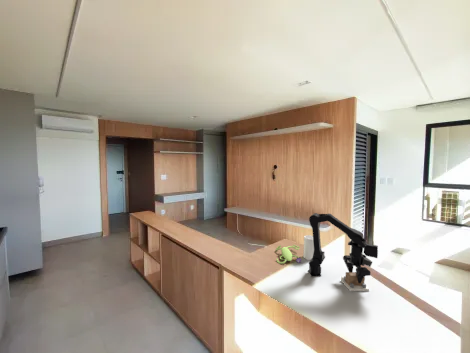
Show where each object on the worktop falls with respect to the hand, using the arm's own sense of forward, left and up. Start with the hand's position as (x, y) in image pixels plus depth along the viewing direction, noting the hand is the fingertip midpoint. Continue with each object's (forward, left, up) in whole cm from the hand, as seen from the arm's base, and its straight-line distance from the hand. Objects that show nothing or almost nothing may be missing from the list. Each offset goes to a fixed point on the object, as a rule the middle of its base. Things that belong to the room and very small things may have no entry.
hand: (355, 278), depth 128 cm
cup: (-15, +35, -5) cm, 38 cm away
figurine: (-30, +38, -5) cm, 49 cm away
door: (0, 0, -3) cm, 3 cm away
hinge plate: (0, 0, -4) cm, 5 cm away
